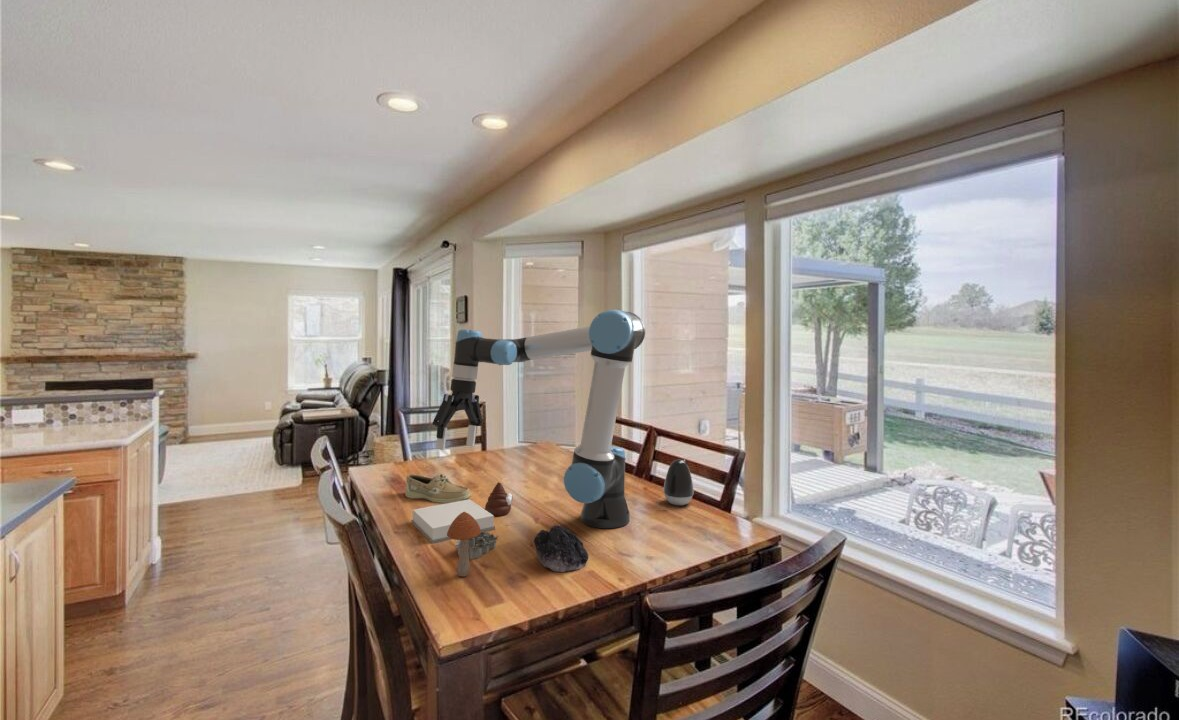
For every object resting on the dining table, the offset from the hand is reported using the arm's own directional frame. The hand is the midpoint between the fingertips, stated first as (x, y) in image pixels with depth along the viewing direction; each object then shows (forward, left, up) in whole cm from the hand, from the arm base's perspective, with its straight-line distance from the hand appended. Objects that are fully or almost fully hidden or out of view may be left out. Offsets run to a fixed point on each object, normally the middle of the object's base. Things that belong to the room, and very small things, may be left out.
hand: (455, 447), depth 159 cm
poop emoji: (-3, -13, -22) cm, 26 cm away
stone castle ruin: (-27, +5, -22) cm, 35 cm away
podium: (-7, +4, -22) cm, 23 cm away
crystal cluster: (-45, -10, -22) cm, 51 cm away
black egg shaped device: (-29, -68, -22) cm, 78 cm away
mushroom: (-38, +13, -22) cm, 46 cm away
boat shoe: (+21, -2, -22) cm, 31 cm away
